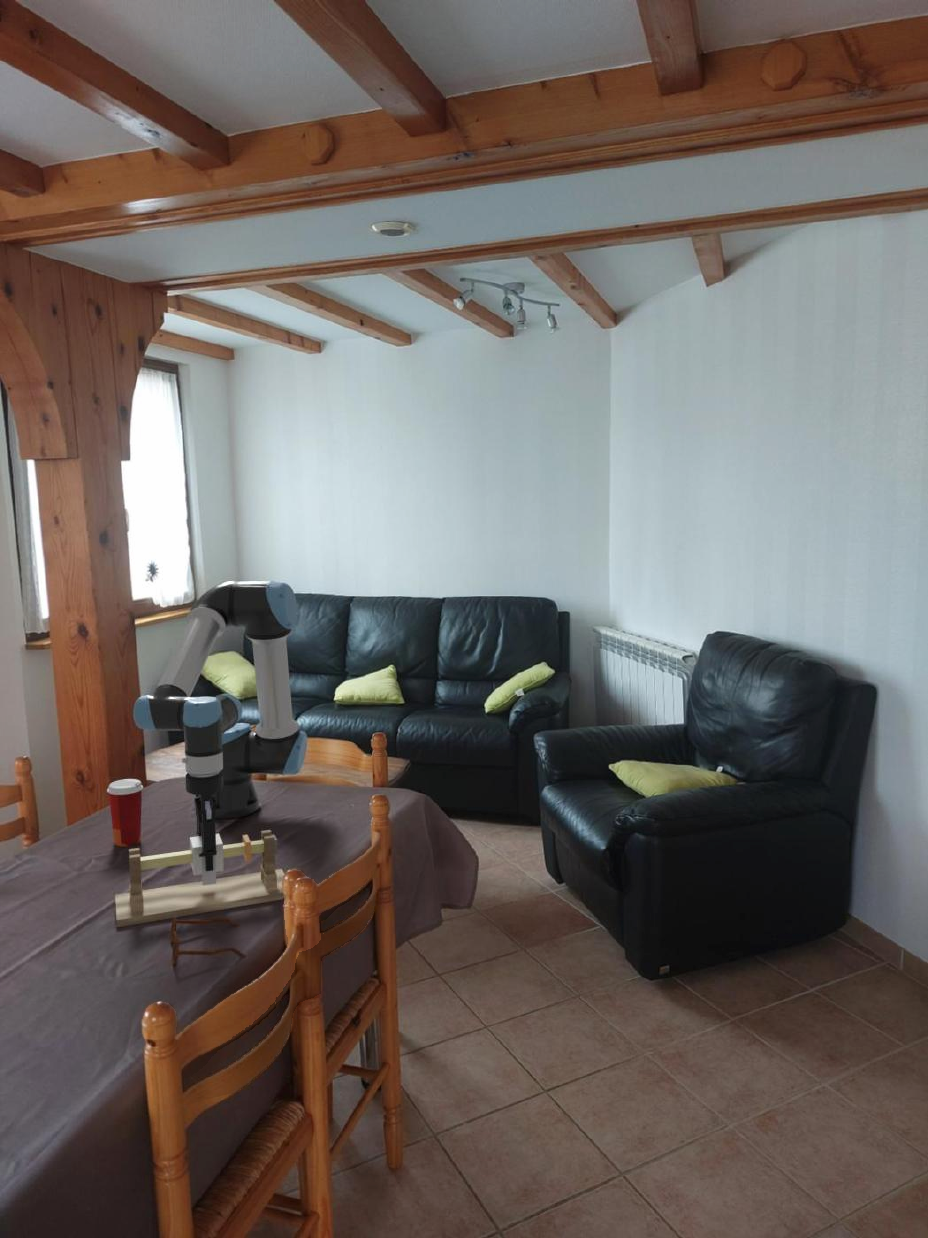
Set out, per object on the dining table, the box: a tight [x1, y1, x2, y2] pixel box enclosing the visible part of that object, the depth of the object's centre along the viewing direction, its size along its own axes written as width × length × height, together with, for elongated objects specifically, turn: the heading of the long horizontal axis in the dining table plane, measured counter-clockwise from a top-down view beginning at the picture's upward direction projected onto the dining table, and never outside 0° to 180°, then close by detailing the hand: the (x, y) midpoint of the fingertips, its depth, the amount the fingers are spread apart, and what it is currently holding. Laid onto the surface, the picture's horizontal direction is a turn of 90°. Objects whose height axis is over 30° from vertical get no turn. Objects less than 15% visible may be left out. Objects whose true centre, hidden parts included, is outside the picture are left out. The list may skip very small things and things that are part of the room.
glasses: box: [169, 917, 247, 966], centre depth 163 cm, size 13×13×5 cm
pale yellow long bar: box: [140, 834, 278, 871], centre depth 181 cm, size 4×29×4 cm, turn 113°
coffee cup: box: [106, 778, 144, 848], centre depth 212 cm, size 8×8×15 cm
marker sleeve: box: [189, 833, 224, 876], centre depth 181 cm, size 6×6×6 cm
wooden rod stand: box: [114, 829, 285, 928], centre depth 182 cm, size 12×35×12 cm, turn 113°
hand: (207, 877), depth 182 cm, fingers closed on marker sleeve, 6 cm apart
